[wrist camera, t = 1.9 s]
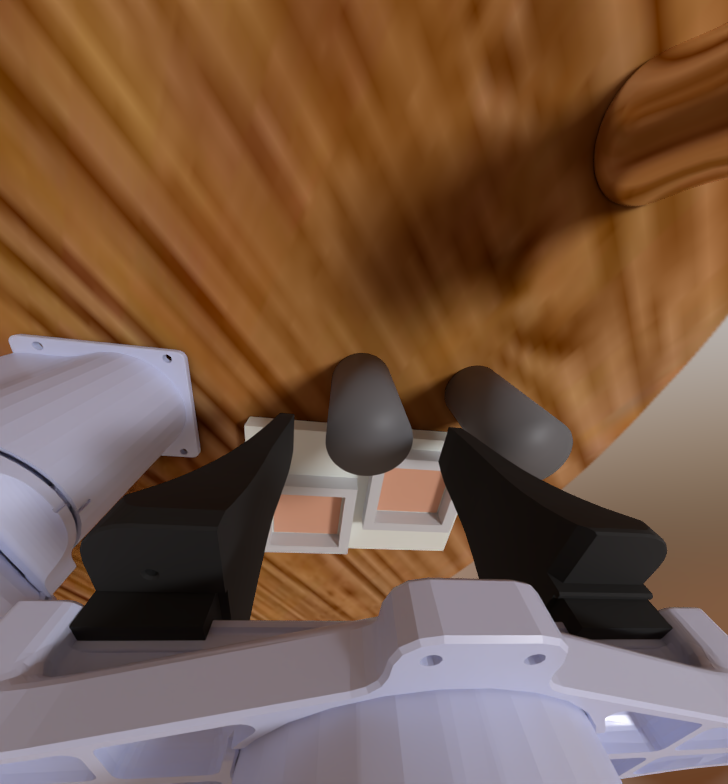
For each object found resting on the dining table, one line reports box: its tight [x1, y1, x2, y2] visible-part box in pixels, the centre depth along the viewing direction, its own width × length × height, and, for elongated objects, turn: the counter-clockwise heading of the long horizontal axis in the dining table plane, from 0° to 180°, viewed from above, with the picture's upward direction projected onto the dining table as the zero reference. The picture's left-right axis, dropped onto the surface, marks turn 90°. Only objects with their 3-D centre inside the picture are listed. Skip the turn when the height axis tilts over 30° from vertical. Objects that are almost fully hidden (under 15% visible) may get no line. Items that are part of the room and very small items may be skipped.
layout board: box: [244, 417, 457, 554], centre depth 22 cm, size 17×12×2 cm
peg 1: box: [325, 353, 413, 476], centre depth 16 cm, size 4×4×7 cm
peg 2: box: [445, 366, 573, 480], centre depth 17 cm, size 4×4×7 cm
